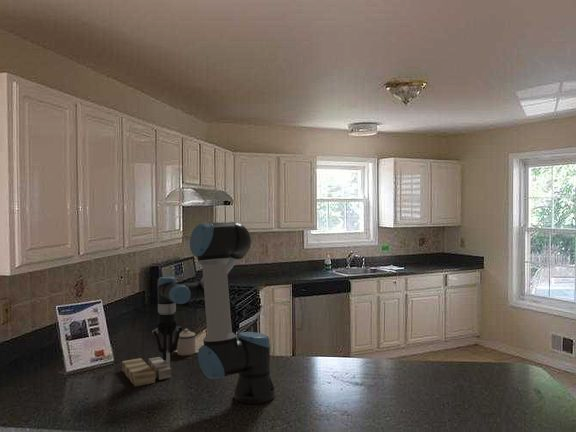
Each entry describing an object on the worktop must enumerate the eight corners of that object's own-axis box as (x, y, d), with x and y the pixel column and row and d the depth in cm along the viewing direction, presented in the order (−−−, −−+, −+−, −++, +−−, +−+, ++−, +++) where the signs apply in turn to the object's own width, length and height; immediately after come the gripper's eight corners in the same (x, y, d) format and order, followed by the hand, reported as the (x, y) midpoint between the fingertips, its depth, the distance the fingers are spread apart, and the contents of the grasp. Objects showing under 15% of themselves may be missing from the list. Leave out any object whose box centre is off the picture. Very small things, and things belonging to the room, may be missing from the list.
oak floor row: (157, 382, 186) (157, 372, 186) (134, 386, 181) (134, 376, 181) (142, 366, 205) (142, 357, 205) (122, 370, 200) (122, 361, 200)
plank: (148, 367, 204) (148, 358, 204) (160, 365, 207) (160, 356, 207) (159, 380, 189) (159, 370, 189) (171, 378, 191) (171, 368, 191)
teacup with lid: (199, 351, 227) (199, 327, 227) (188, 356, 218) (188, 332, 218) (179, 348, 231) (179, 325, 231) (167, 354, 223) (167, 329, 223)
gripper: (178, 309, 206) (179, 362, 206) (149, 312, 199) (149, 367, 199) (184, 312, 199) (184, 367, 200) (154, 316, 193) (154, 372, 193)
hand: (167, 367), depth 199 cm, fingers closed
